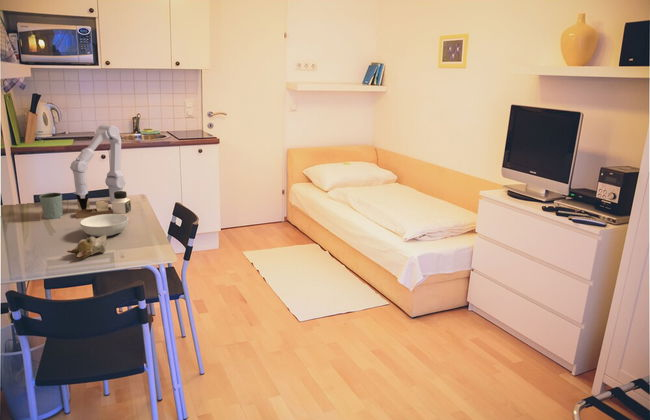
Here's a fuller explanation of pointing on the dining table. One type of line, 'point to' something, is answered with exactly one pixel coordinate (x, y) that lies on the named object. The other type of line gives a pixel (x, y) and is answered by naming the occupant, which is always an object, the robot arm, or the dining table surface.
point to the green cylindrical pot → (52, 205)
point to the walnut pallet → (91, 213)
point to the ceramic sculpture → (90, 246)
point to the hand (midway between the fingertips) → (83, 208)
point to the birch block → (80, 206)
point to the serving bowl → (104, 224)
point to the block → (102, 206)
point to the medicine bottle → (121, 203)
